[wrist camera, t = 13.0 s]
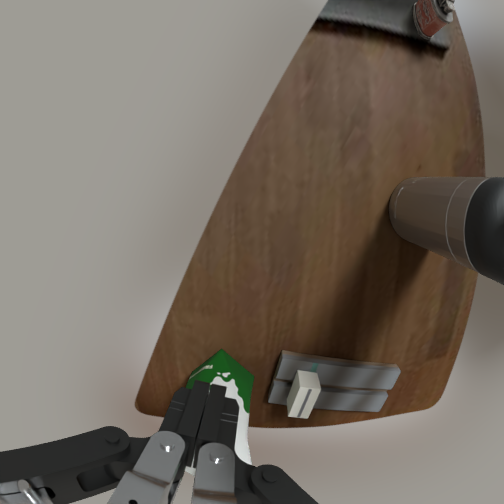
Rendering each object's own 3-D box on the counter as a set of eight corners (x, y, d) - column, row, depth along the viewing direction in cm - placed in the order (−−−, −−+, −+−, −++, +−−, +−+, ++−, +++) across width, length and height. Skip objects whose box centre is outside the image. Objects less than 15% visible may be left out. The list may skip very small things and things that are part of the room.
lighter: (433, 42, 30) (464, 18, 20) (416, 35, 30) (445, 9, 20) (426, 8, 28) (452, -18, 18) (409, 1, 28) (433, -26, 18)
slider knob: (315, 368, 40) (321, 389, 35) (304, 397, 42) (307, 419, 37) (296, 365, 40) (300, 387, 35) (286, 394, 42) (288, 416, 37)
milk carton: (224, 402, 44) (206, 498, 25) (184, 369, 43) (144, 463, 24) (262, 376, 43) (259, 479, 23) (221, 340, 41) (192, 441, 22)
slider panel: (396, 364, 41) (401, 371, 39) (375, 403, 43) (379, 411, 41) (282, 350, 41) (282, 358, 39) (268, 394, 43) (268, 403, 41)
